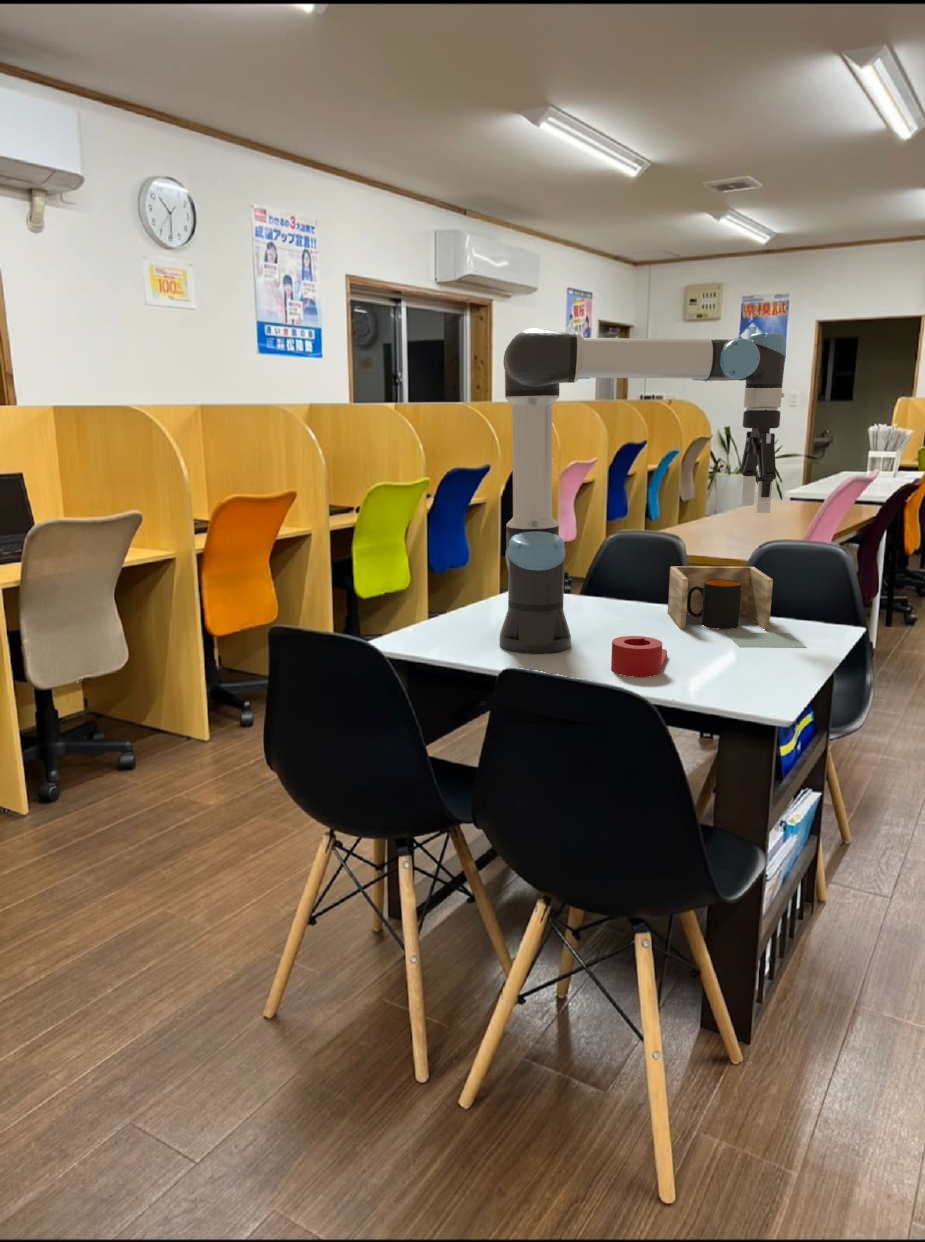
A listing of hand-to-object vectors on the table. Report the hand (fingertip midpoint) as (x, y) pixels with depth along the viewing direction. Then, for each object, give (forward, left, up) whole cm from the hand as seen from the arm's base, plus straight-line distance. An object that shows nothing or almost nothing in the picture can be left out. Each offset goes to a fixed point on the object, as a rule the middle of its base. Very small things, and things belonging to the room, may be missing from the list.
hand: (754, 509), depth 195 cm
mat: (+2, -9, -28) cm, 29 cm away
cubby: (-4, +9, -28) cm, 30 cm away
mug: (-6, +6, -28) cm, 29 cm away
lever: (-27, -29, -28) cm, 49 cm away
